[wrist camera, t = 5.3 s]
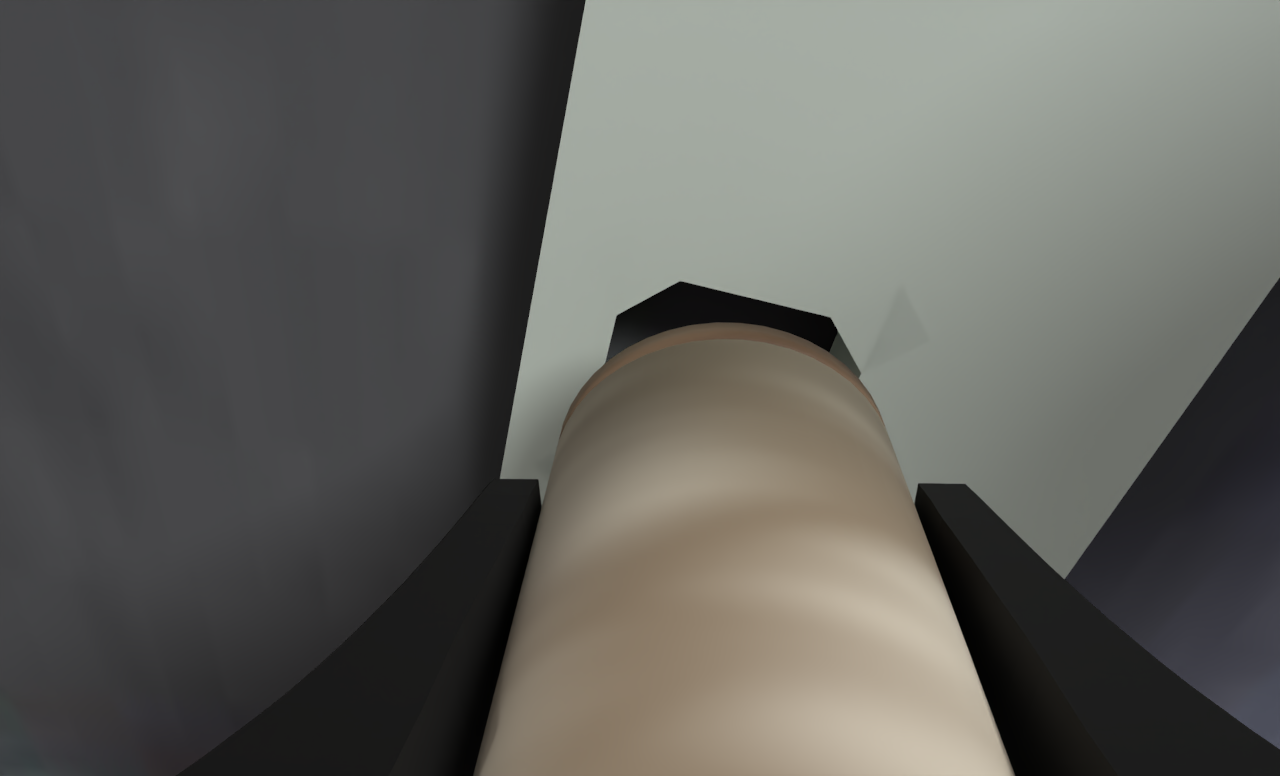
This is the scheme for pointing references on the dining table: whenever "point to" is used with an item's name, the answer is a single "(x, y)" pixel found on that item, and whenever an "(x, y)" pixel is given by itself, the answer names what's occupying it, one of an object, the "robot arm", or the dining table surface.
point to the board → (931, 218)
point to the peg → (733, 582)
